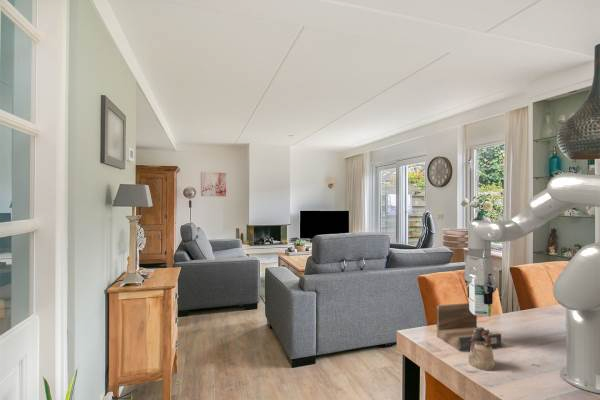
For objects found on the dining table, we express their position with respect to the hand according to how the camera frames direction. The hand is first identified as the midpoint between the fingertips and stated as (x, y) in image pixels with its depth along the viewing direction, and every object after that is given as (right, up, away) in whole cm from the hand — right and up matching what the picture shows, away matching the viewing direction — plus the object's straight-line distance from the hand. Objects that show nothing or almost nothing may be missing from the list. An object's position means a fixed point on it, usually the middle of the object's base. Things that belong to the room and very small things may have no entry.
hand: (479, 300), depth 118 cm
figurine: (-9, -16, -17) cm, 25 cm away
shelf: (-4, -16, 0) cm, 16 cm away
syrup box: (0, -5, 0) cm, 5 cm away
